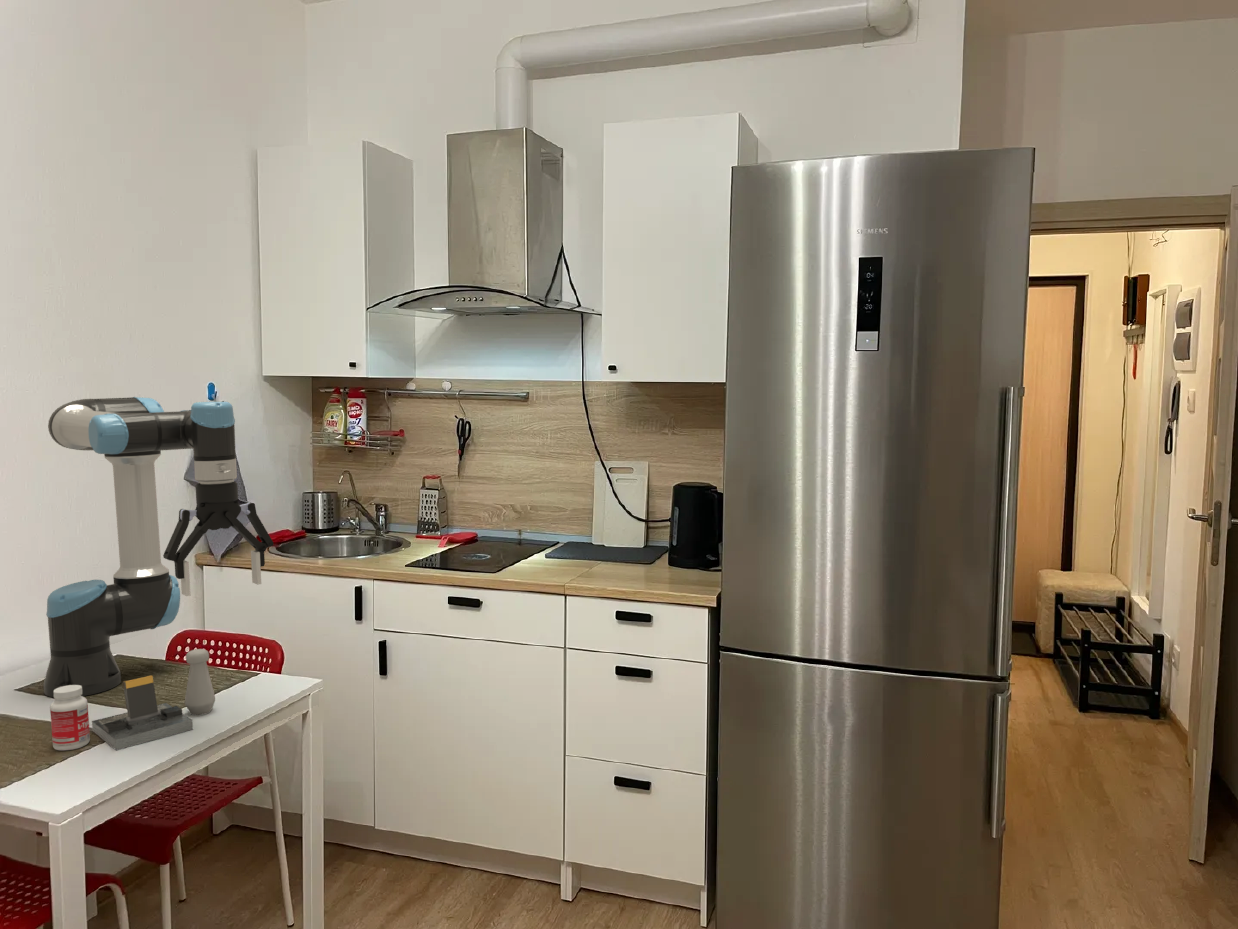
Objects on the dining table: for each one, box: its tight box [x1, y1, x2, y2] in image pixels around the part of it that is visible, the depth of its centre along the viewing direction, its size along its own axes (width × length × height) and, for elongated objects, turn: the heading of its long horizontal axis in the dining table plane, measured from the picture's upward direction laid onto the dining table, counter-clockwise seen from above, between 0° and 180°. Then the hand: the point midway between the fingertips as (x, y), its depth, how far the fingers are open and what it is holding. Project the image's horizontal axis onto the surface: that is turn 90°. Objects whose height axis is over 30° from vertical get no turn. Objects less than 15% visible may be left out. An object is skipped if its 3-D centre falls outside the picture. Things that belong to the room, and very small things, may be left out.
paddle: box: [122, 675, 161, 724], centre depth 186 cm, size 2×6×8 cm, turn 135°
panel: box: [91, 702, 194, 751], centre depth 186 cm, size 14×14×3 cm
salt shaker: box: [184, 648, 216, 716], centre depth 195 cm, size 6×6×13 cm
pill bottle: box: [49, 685, 91, 751], centre depth 179 cm, size 6×6×11 cm
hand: (222, 589), depth 185 cm, fingers open, 13 cm apart
